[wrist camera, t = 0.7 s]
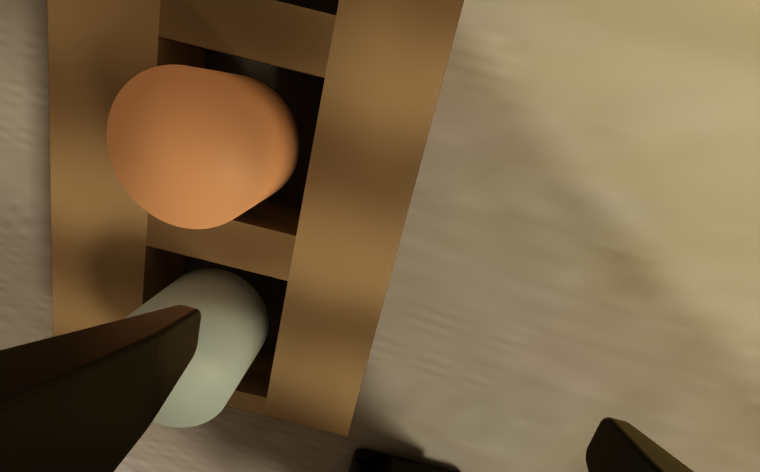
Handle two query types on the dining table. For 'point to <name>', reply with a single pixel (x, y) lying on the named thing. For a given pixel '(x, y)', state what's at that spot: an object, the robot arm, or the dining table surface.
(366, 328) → the wooden compartment tray
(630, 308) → the dining table surface
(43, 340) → the robot arm
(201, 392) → the sage green rounded cylinder
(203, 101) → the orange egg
